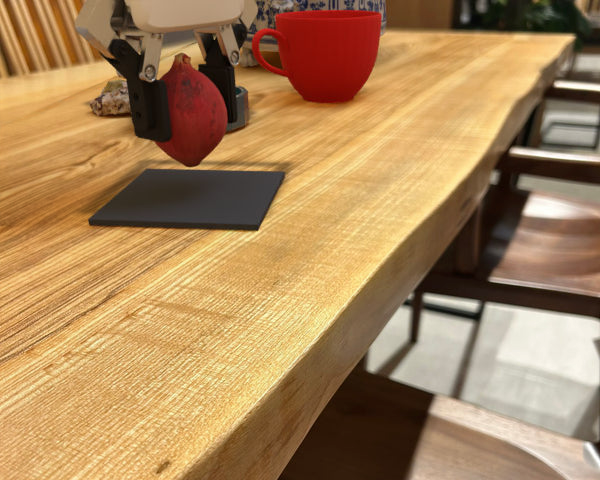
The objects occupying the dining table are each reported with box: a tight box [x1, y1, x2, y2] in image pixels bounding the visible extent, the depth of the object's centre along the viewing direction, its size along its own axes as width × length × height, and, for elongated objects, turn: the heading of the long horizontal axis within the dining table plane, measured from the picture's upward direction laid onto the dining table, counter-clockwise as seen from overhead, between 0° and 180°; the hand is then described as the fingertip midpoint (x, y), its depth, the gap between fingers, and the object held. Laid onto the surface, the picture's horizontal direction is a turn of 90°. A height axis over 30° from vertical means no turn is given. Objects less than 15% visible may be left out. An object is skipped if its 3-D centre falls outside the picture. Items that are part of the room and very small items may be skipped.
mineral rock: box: [89, 79, 131, 116], centre depth 78 cm, size 11×4×8 cm
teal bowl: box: [225, 84, 250, 133], centre depth 70 cm, size 12×12×4 cm
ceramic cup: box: [252, 10, 382, 105], centre depth 79 cm, size 13×17×10 cm
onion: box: [153, 52, 228, 168], centre depth 46 cm, size 6×6×8 cm
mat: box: [87, 168, 286, 232], centre depth 49 cm, size 12×12×1 cm
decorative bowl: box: [239, 0, 387, 68], centre depth 112 cm, size 42×27×15 cm, turn 169°
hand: (188, 127), depth 46 cm, fingers closed on onion, 5 cm apart
